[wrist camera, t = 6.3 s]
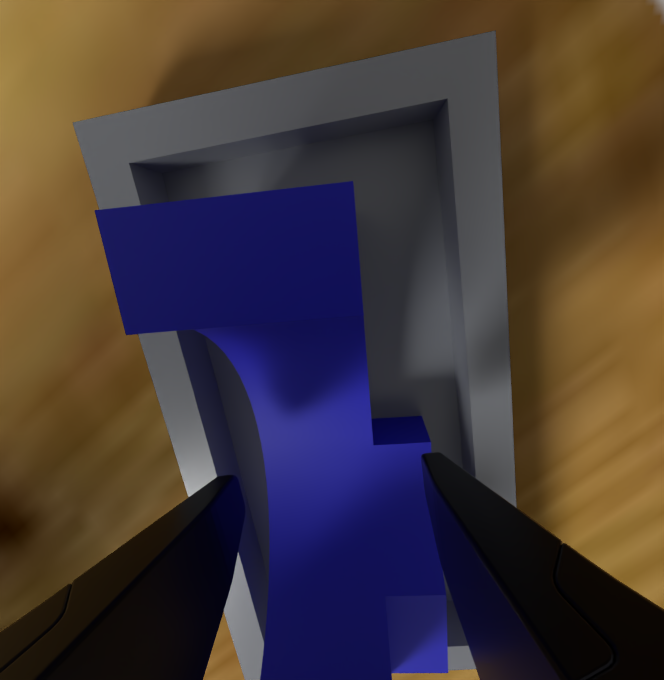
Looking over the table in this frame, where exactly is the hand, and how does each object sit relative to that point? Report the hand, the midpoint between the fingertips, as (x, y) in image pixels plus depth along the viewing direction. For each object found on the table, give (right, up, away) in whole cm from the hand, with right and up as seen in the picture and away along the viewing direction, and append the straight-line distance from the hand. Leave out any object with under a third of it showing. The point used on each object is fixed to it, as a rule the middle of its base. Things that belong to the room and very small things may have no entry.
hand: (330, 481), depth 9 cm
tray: (0, +1, +3) cm, 4 cm away
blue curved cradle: (0, +1, +3) cm, 3 cm away
